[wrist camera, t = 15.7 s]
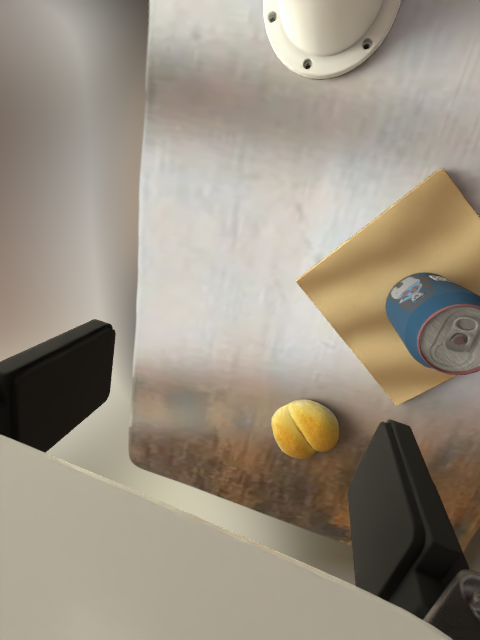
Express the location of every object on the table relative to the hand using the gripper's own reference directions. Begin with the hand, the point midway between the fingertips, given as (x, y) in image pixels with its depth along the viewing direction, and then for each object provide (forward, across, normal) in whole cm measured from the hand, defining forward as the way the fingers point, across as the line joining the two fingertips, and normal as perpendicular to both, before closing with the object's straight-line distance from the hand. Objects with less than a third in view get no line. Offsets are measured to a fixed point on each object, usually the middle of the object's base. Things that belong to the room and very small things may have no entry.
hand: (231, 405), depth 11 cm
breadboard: (+30, -14, 0) cm, 33 cm away
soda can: (+29, -14, 0) cm, 32 cm away
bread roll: (+31, -7, +21) cm, 38 cm away
